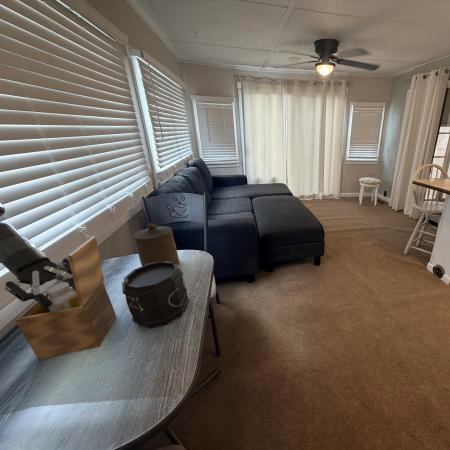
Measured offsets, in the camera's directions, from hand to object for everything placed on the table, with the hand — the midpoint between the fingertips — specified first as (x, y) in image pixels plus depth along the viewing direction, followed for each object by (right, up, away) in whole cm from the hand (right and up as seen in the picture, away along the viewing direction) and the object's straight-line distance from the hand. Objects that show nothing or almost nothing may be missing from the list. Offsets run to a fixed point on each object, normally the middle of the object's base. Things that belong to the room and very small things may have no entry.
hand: (65, 297), depth 68 cm
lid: (+6, +8, 0) cm, 10 cm away
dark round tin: (+19, -10, +16) cm, 27 cm away
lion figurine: (-29, -3, +36) cm, 47 cm away
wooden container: (+3, 0, +43) cm, 43 cm away
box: (-1, -14, +6) cm, 15 cm away
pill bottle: (-1, -8, +4) cm, 9 cm away
